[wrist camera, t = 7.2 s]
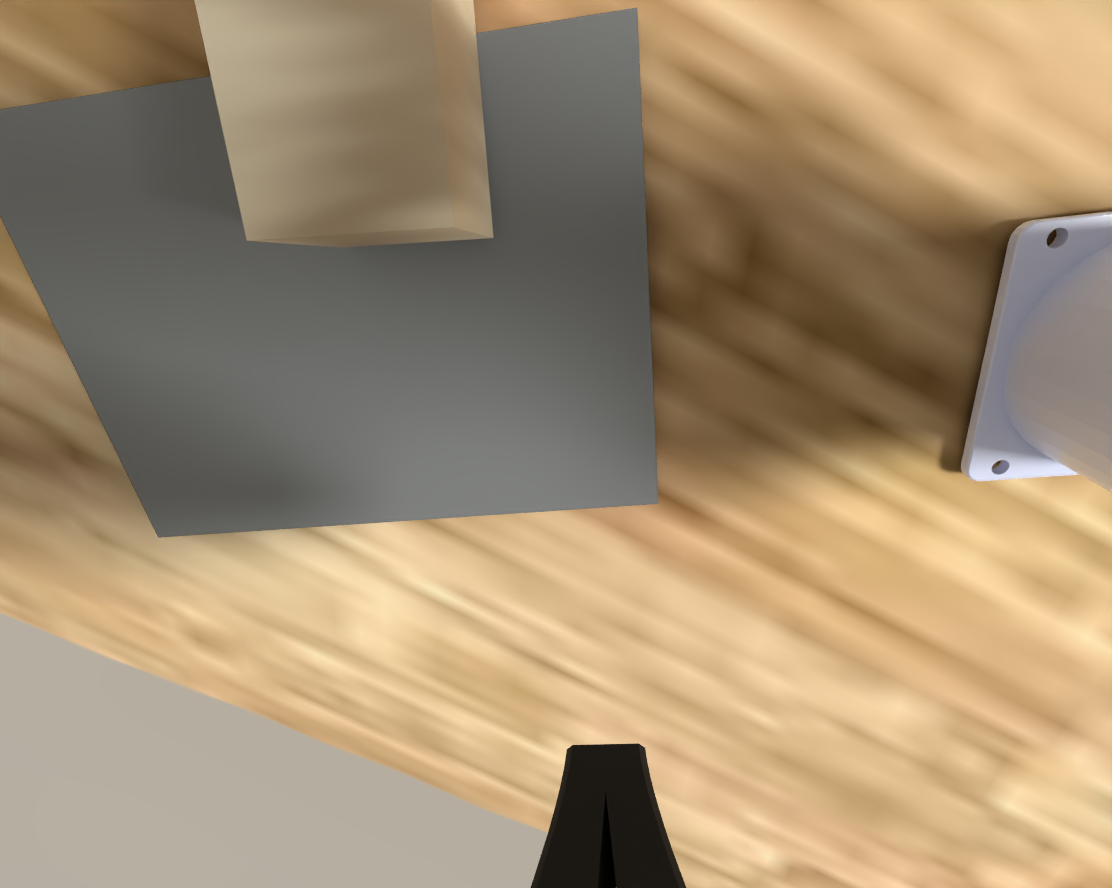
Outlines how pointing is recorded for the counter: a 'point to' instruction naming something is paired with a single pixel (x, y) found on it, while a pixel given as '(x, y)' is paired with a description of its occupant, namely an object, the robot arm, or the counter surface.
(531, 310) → the mat
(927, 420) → the counter surface
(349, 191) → the tall block
